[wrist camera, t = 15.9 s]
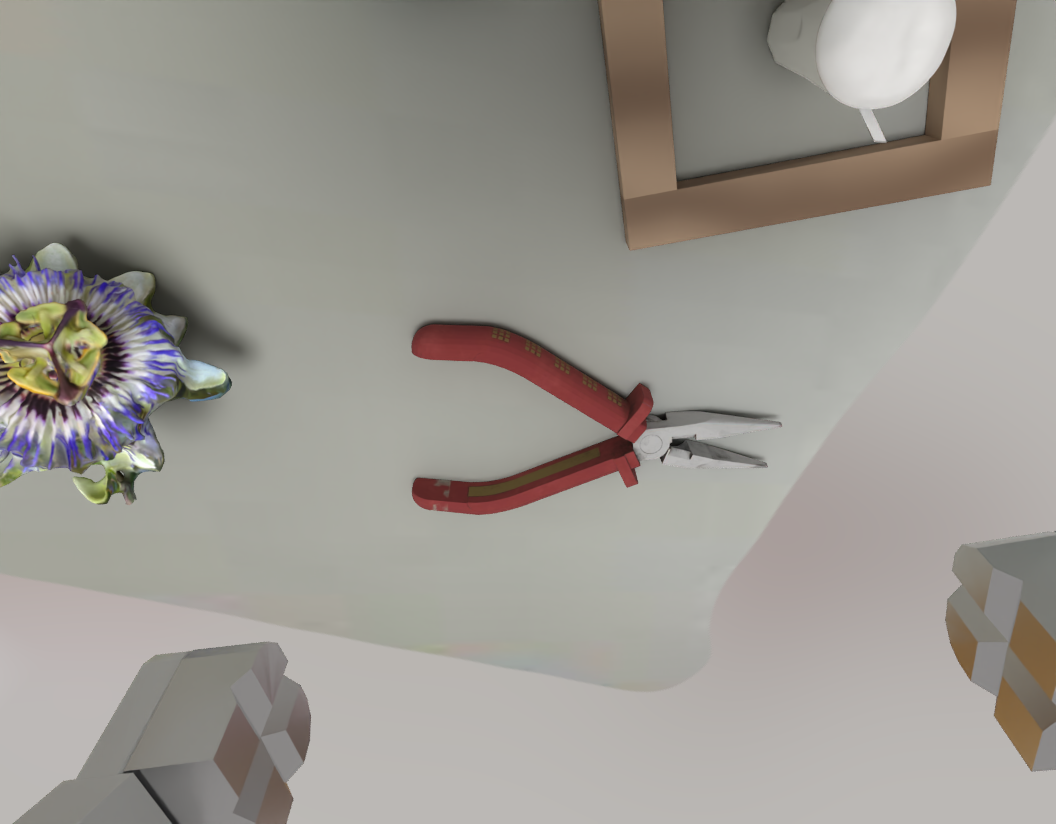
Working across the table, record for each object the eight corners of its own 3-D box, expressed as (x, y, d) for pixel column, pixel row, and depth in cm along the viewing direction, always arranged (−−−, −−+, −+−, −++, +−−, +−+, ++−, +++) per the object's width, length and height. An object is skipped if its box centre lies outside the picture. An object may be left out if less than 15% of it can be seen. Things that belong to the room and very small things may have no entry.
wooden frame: (583, -120, 28) (586, -126, 27) (1023, -220, 27) (1049, -232, 26) (625, 241, 36) (629, 250, 34) (972, 178, 34) (990, 185, 33)
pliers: (743, 512, 45) (756, 540, 43) (414, 491, 44) (408, 519, 42) (794, 341, 39) (812, 363, 37) (415, 312, 38) (408, 333, 36)
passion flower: (188, 250, 42) (266, 347, 33) (136, 426, 45) (195, 556, 37) (-93, 179, 33) (-85, 286, 24) (-131, 406, 36) (-137, 570, 28)
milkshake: (736, 101, 32) (814, 136, 24) (766, -36, 30) (865, -52, 21) (833, 110, 33) (944, 148, 24) (870, -26, 30) (1011, -38, 21)
